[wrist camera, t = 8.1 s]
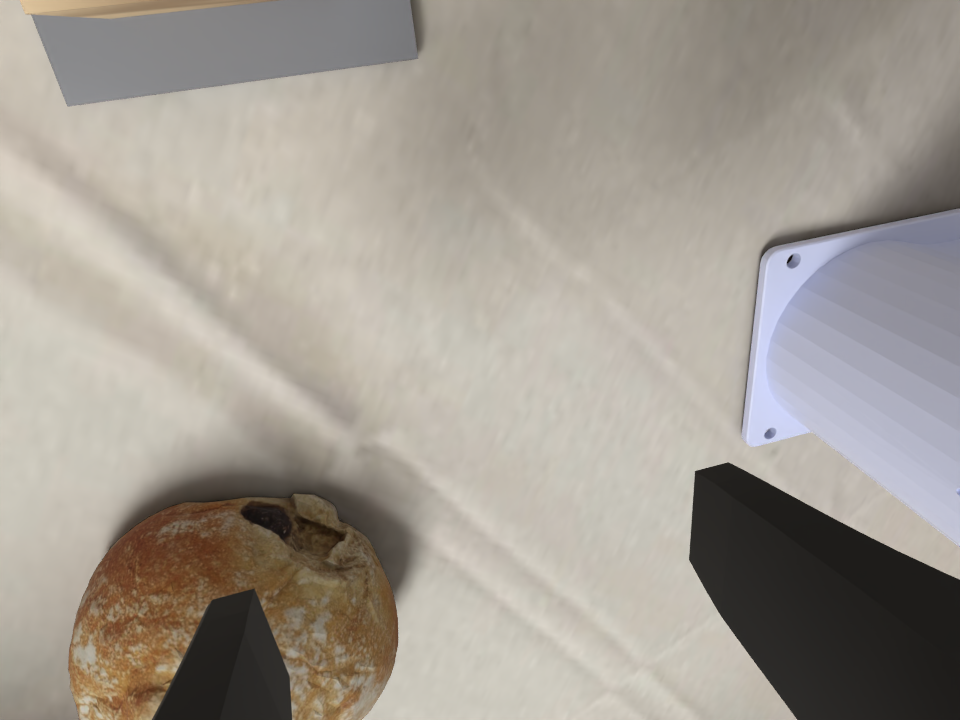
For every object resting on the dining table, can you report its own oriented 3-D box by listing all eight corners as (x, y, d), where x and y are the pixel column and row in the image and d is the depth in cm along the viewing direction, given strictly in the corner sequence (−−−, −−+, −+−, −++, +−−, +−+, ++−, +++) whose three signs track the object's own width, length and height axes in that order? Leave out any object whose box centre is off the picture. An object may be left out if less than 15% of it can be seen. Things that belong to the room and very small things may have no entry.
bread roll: (394, 480, 26) (456, 534, 19) (351, 729, 26) (396, 885, 19) (127, 451, 23) (73, 504, 15) (72, 739, 23) (-9, 936, 15)
